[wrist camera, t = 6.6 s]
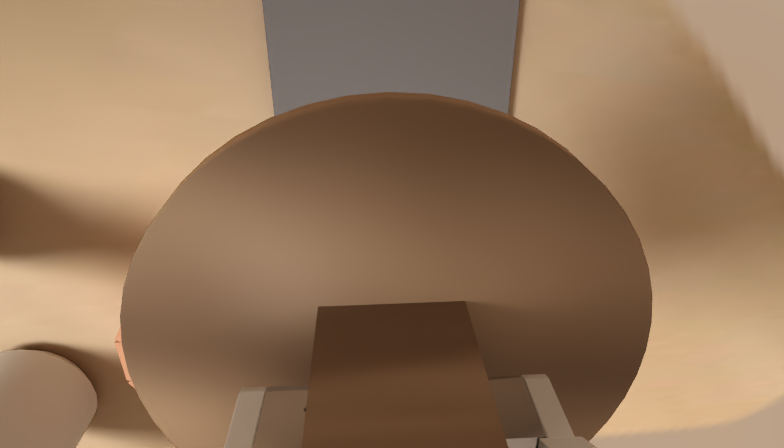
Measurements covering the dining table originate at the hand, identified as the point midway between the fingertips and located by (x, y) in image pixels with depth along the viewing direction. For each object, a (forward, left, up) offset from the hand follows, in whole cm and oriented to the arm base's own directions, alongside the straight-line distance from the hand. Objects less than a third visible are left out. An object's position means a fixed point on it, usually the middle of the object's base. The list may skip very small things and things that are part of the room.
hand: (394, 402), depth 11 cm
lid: (0, 0, -2) cm, 2 cm away
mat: (-1, +1, -19) cm, 19 cm away
